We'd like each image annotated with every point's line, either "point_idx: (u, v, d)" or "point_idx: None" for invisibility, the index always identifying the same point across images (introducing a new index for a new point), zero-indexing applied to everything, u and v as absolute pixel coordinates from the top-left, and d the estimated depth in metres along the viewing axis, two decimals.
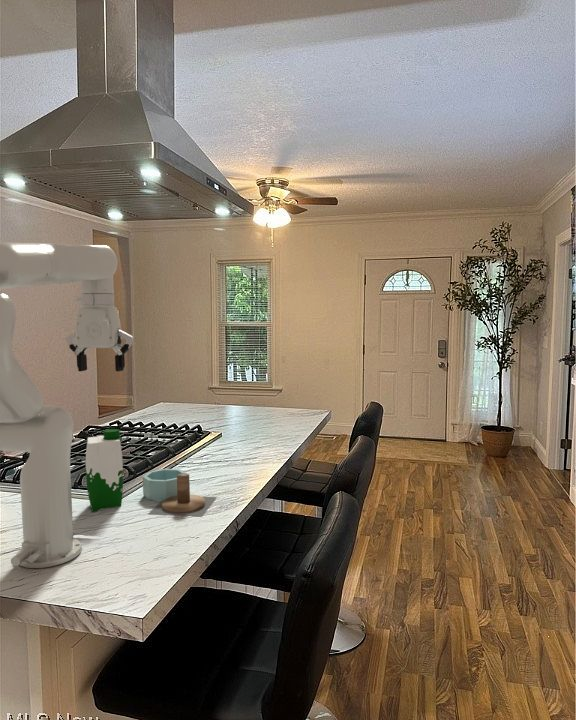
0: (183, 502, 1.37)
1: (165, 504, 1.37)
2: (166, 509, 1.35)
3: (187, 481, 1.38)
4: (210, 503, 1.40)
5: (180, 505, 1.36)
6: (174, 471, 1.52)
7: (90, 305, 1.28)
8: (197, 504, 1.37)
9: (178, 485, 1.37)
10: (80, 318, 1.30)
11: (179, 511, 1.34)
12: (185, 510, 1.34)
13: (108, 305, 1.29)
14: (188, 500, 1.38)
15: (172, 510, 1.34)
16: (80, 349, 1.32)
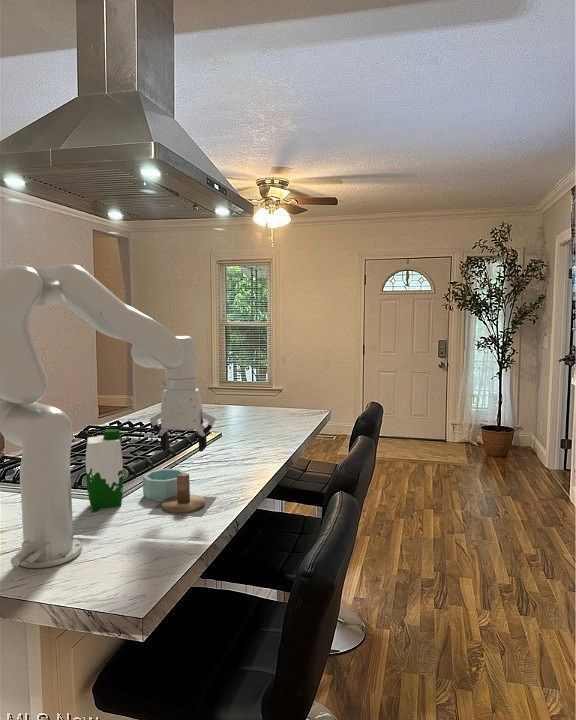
0: (183, 502, 1.37)
1: (165, 504, 1.37)
2: (166, 509, 1.35)
3: (187, 481, 1.38)
4: (210, 503, 1.40)
5: (180, 505, 1.36)
6: (174, 471, 1.52)
7: (175, 390, 1.33)
8: (197, 504, 1.37)
9: (178, 485, 1.37)
10: (165, 402, 1.35)
11: (179, 511, 1.34)
12: (185, 510, 1.34)
13: (192, 389, 1.35)
14: (188, 500, 1.38)
15: (172, 510, 1.34)
16: (164, 430, 1.37)
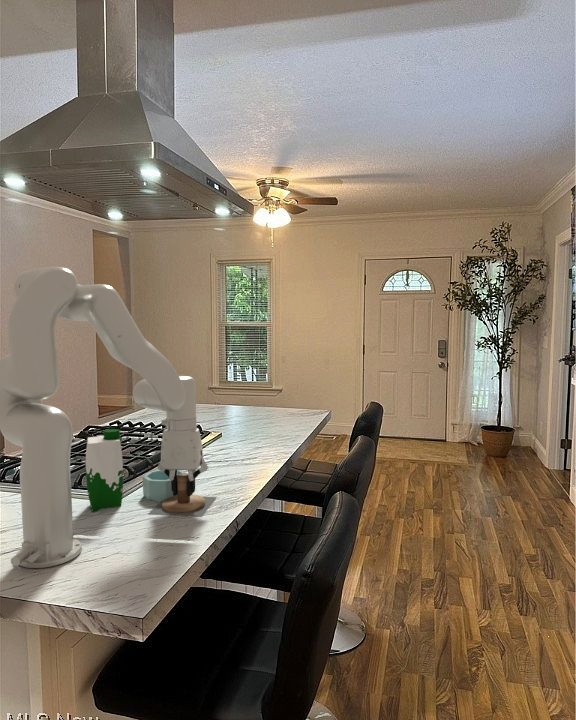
0: (183, 502, 1.37)
1: (165, 503, 1.37)
2: (166, 509, 1.35)
3: None
4: (210, 503, 1.40)
5: (180, 505, 1.36)
6: None
7: (176, 431, 1.34)
8: (197, 504, 1.37)
9: (178, 485, 1.37)
10: (166, 442, 1.35)
11: (179, 511, 1.34)
12: (185, 510, 1.34)
13: (192, 429, 1.35)
14: (188, 500, 1.38)
15: (172, 510, 1.34)
16: (173, 473, 1.37)
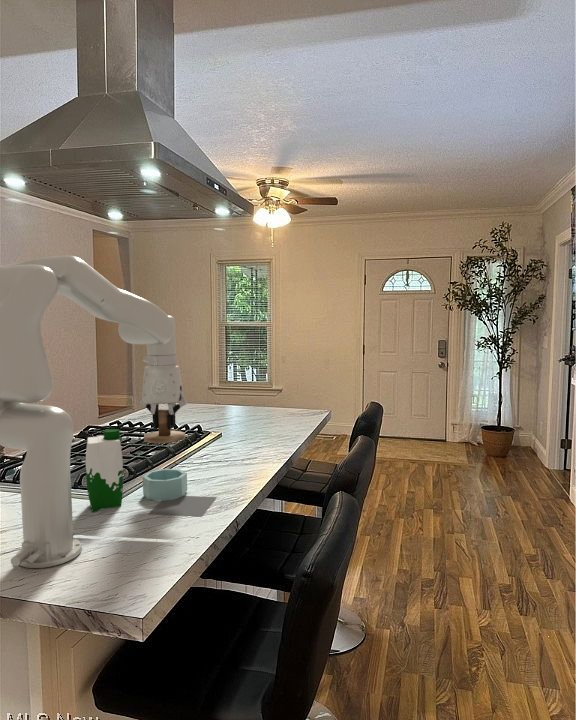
0: (164, 435, 1.45)
1: (147, 436, 1.45)
2: (147, 440, 1.42)
3: None
4: (210, 503, 1.40)
5: (161, 437, 1.44)
6: (174, 471, 1.52)
7: (156, 366, 1.41)
8: (177, 436, 1.44)
9: (159, 419, 1.45)
10: (147, 377, 1.43)
11: (159, 441, 1.41)
12: (165, 441, 1.41)
13: (172, 365, 1.43)
14: (169, 433, 1.46)
15: (153, 441, 1.41)
16: (154, 407, 1.45)
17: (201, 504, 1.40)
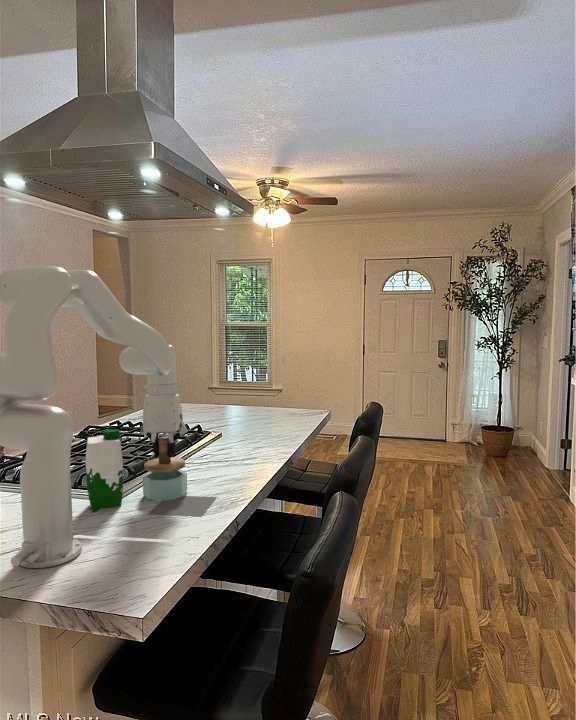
0: (164, 463, 1.46)
1: (147, 464, 1.46)
2: (148, 469, 1.43)
3: None
4: (210, 503, 1.40)
5: (161, 465, 1.45)
6: (174, 471, 1.52)
7: (156, 395, 1.42)
8: (177, 464, 1.45)
9: (159, 447, 1.46)
10: (147, 406, 1.44)
11: (160, 470, 1.42)
12: (165, 469, 1.42)
13: (172, 394, 1.44)
14: (169, 461, 1.47)
15: (153, 469, 1.42)
16: (154, 435, 1.46)
17: (201, 504, 1.40)
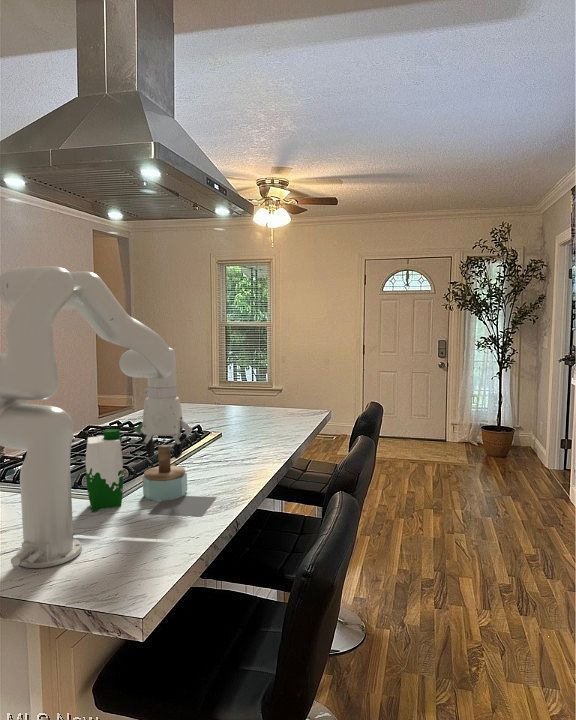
0: (164, 471, 1.46)
1: (147, 473, 1.46)
2: (148, 477, 1.43)
3: (168, 452, 1.46)
4: (210, 503, 1.40)
5: (161, 474, 1.45)
6: None
7: (157, 398, 1.42)
8: (177, 473, 1.45)
9: (159, 455, 1.46)
10: (147, 409, 1.44)
11: (160, 479, 1.42)
12: (165, 478, 1.42)
13: (172, 397, 1.44)
14: (169, 470, 1.47)
15: (153, 478, 1.42)
16: (149, 437, 1.46)
17: (201, 504, 1.40)
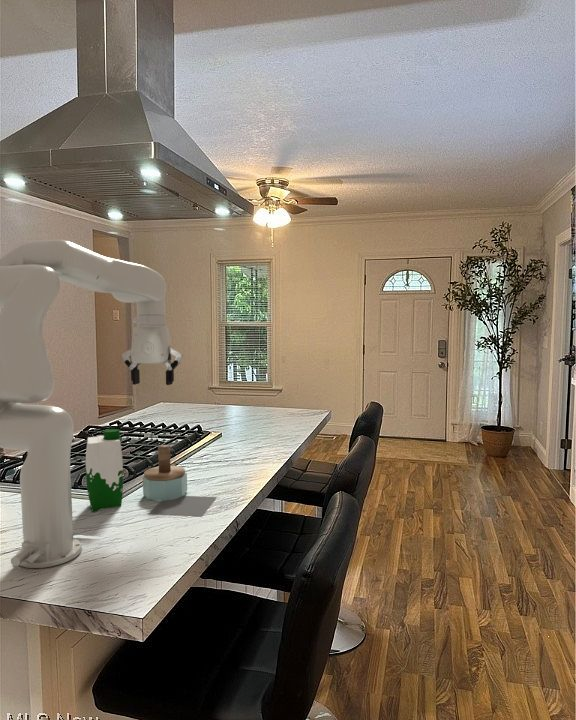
0: (164, 471, 1.46)
1: (147, 473, 1.46)
2: (148, 477, 1.43)
3: (168, 452, 1.46)
4: (210, 503, 1.40)
5: (161, 474, 1.45)
6: None
7: (145, 325, 1.42)
8: (177, 473, 1.45)
9: (159, 455, 1.46)
10: (136, 337, 1.44)
11: (160, 479, 1.42)
12: (165, 478, 1.42)
13: (160, 325, 1.44)
14: (169, 470, 1.47)
15: (153, 478, 1.42)
16: (134, 364, 1.46)
17: (201, 504, 1.40)
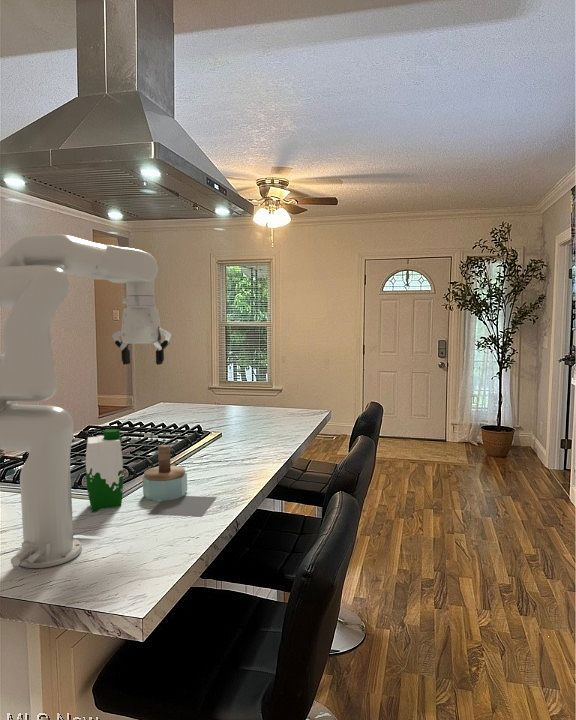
0: (164, 471, 1.46)
1: (147, 473, 1.46)
2: (148, 477, 1.43)
3: (168, 452, 1.46)
4: (210, 503, 1.40)
5: (161, 474, 1.45)
6: None
7: (135, 306, 1.45)
8: (177, 473, 1.45)
9: (159, 455, 1.46)
10: (126, 318, 1.47)
11: (160, 479, 1.42)
12: (165, 478, 1.42)
13: (150, 306, 1.47)
14: (169, 470, 1.47)
15: (153, 478, 1.42)
16: (125, 345, 1.49)
17: (201, 504, 1.40)
